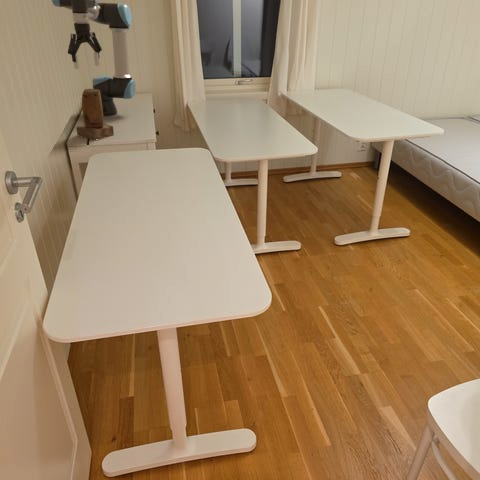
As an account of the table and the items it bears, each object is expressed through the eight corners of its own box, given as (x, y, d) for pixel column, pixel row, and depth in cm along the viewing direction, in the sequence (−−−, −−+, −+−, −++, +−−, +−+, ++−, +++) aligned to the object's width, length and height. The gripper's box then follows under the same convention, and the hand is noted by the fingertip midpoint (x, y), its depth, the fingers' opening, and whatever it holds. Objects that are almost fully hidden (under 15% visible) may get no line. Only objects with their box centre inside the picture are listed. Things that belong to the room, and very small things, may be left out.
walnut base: (97, 130, 263) (95, 121, 260) (113, 134, 256) (112, 126, 254) (77, 135, 252) (76, 126, 250) (94, 140, 246) (93, 131, 243)
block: (104, 124, 256) (100, 88, 246) (104, 128, 249) (99, 91, 239) (85, 124, 254) (80, 88, 244) (83, 128, 247) (78, 91, 237)
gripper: (65, 24, 215) (72, 70, 226) (105, 21, 233) (110, 65, 244) (55, 23, 218) (62, 69, 229) (95, 20, 237) (100, 63, 247)
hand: (87, 67), depth 237 cm, fingers open, 13 cm apart
